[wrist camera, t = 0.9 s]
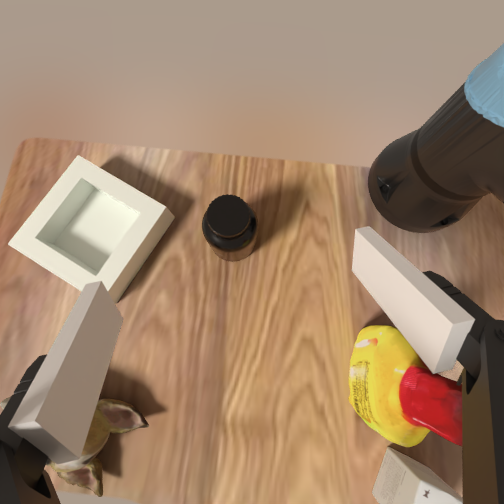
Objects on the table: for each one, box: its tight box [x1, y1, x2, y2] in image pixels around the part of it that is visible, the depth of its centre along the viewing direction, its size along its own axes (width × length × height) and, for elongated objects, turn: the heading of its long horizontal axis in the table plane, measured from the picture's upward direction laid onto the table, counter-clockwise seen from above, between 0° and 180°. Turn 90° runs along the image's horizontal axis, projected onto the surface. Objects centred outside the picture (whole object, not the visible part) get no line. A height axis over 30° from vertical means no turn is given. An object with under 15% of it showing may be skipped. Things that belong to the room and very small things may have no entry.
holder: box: [8, 155, 175, 304], centre depth 39 cm, size 15×15×4 cm
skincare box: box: [372, 447, 463, 504], centre depth 32 cm, size 6×6×7 cm
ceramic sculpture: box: [0, 397, 149, 497], centre depth 33 cm, size 11×9×15 cm
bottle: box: [348, 325, 462, 447], centre depth 28 cm, size 12×6×20 cm, turn 172°
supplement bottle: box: [202, 195, 258, 262], centre depth 35 cm, size 7×7×12 cm
